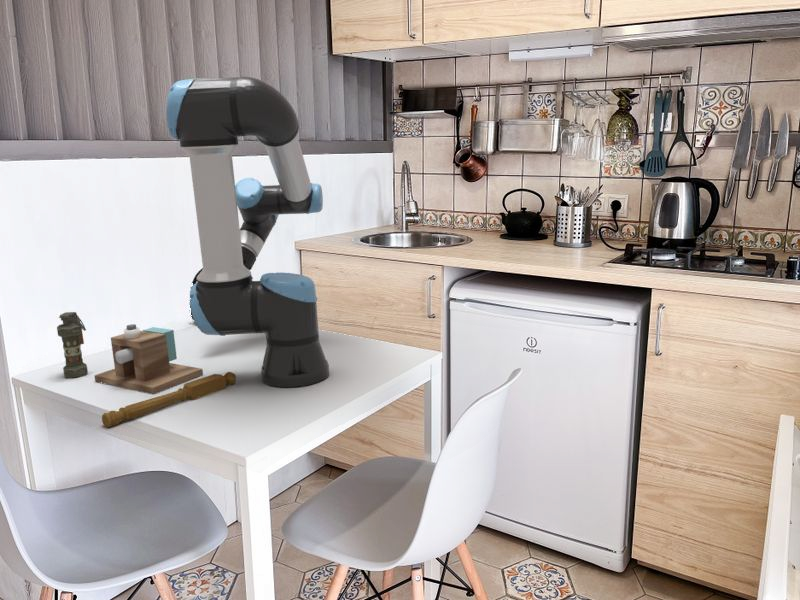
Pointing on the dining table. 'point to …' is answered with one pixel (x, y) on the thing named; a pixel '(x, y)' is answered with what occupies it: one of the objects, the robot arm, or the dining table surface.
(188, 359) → the dining table surface
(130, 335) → the dial
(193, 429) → the dining table surface
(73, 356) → the grenade
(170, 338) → the teal piece
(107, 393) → the dining table surface
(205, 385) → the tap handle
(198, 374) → the mount
